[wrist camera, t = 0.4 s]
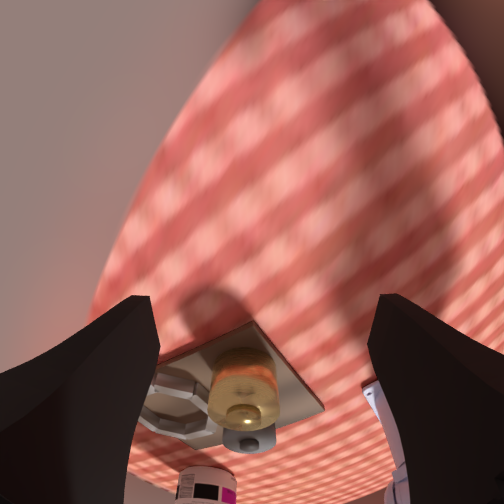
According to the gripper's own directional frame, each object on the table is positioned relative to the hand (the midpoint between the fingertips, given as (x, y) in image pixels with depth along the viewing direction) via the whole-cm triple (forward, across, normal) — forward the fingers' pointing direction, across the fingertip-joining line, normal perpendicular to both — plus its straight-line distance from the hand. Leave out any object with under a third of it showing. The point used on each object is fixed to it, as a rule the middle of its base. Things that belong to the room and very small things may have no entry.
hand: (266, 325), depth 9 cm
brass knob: (+9, +1, +12) cm, 15 cm away
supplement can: (+10, +7, +36) cm, 39 cm away
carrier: (+10, +4, +17) cm, 20 cm away
